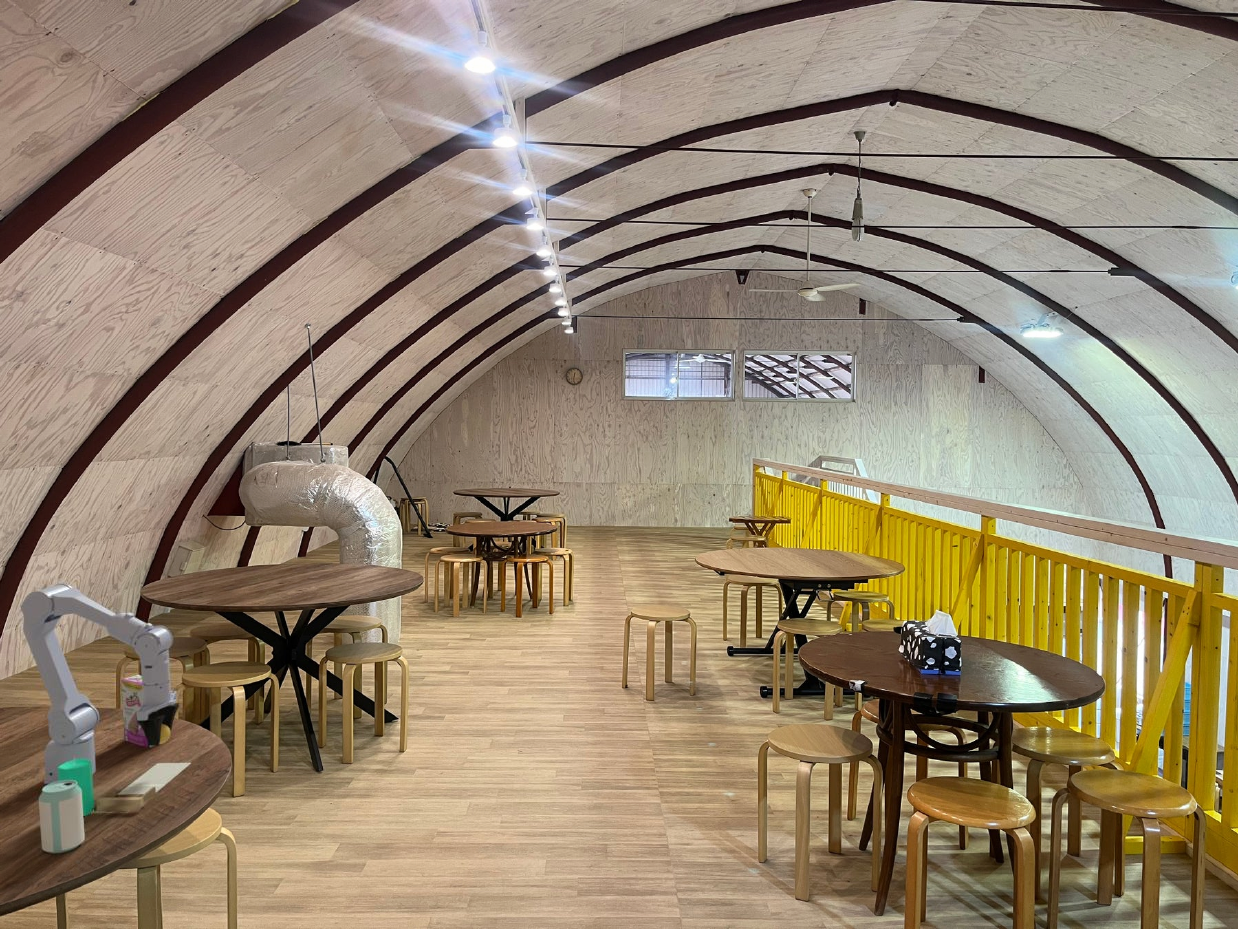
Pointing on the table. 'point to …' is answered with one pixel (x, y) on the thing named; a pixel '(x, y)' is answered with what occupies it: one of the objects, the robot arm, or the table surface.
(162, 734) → the ball
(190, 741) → the table surface
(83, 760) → the candle
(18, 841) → the table surface
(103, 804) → the rail
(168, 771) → the lane
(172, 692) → the robot arm
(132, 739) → the candy bar box
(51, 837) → the can
